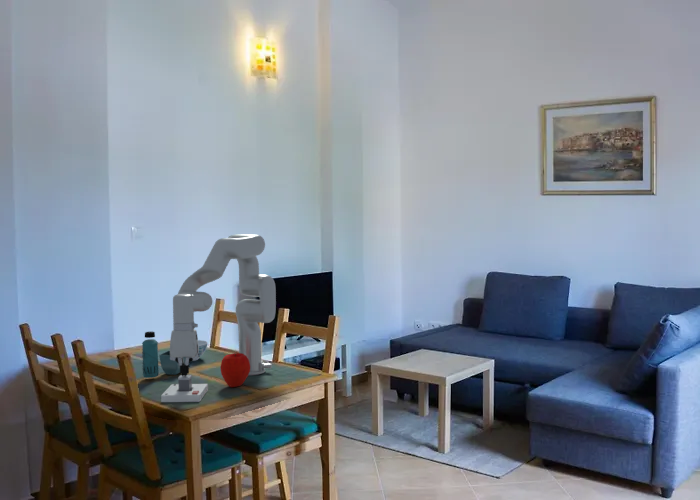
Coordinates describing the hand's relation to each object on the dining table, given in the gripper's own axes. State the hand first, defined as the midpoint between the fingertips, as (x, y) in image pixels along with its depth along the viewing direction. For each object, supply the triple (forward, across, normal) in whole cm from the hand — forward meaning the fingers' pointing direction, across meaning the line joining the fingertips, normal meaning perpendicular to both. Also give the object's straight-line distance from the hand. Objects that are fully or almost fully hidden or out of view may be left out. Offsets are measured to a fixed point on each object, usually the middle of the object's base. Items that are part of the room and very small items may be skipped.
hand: (184, 375), depth 260 cm
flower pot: (+8, +13, -36) cm, 39 cm away
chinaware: (+8, +11, -63) cm, 65 cm away
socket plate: (+8, 0, 0) cm, 8 cm away
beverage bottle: (+8, +20, -26) cm, 34 cm away
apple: (+8, -17, -13) cm, 23 cm away
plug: (+8, 0, 0) cm, 8 cm away
